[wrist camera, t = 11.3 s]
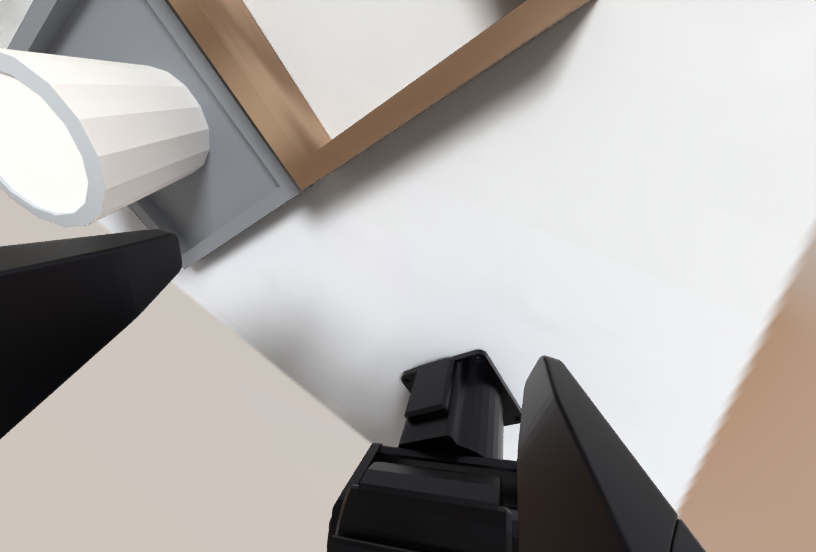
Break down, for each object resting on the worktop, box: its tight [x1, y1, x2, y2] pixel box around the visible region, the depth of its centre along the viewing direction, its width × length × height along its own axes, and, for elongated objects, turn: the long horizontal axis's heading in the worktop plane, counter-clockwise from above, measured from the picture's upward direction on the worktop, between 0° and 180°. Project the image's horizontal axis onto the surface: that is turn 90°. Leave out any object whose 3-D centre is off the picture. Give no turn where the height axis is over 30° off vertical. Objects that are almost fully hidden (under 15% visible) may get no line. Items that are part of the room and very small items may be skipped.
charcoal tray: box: [8, 0, 313, 269], centre depth 20 cm, size 14×11×2 cm
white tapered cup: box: [0, 48, 210, 227], centre depth 17 cm, size 7×7×7 cm
